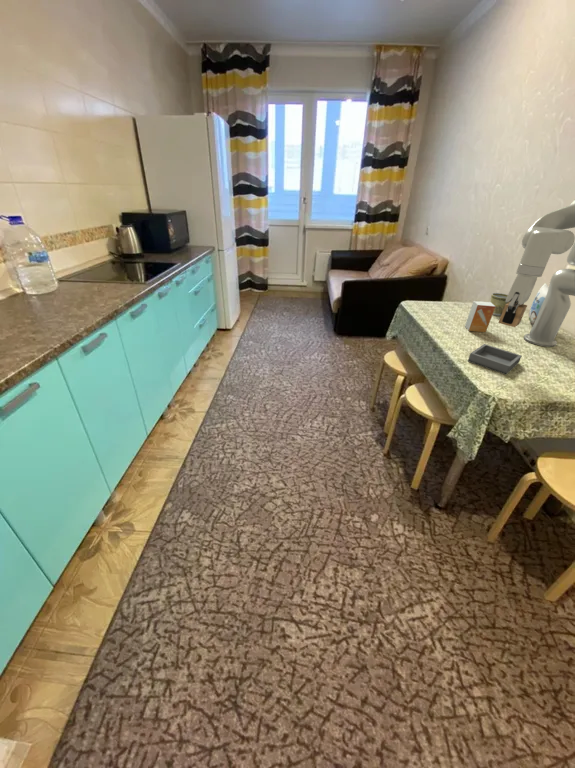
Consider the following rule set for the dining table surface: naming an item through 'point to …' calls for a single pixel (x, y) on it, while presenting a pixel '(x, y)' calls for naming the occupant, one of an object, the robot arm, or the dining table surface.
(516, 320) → the wooden block
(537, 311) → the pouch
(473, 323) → the small box
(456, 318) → the dining table surface
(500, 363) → the tray
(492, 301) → the ceramic cup
